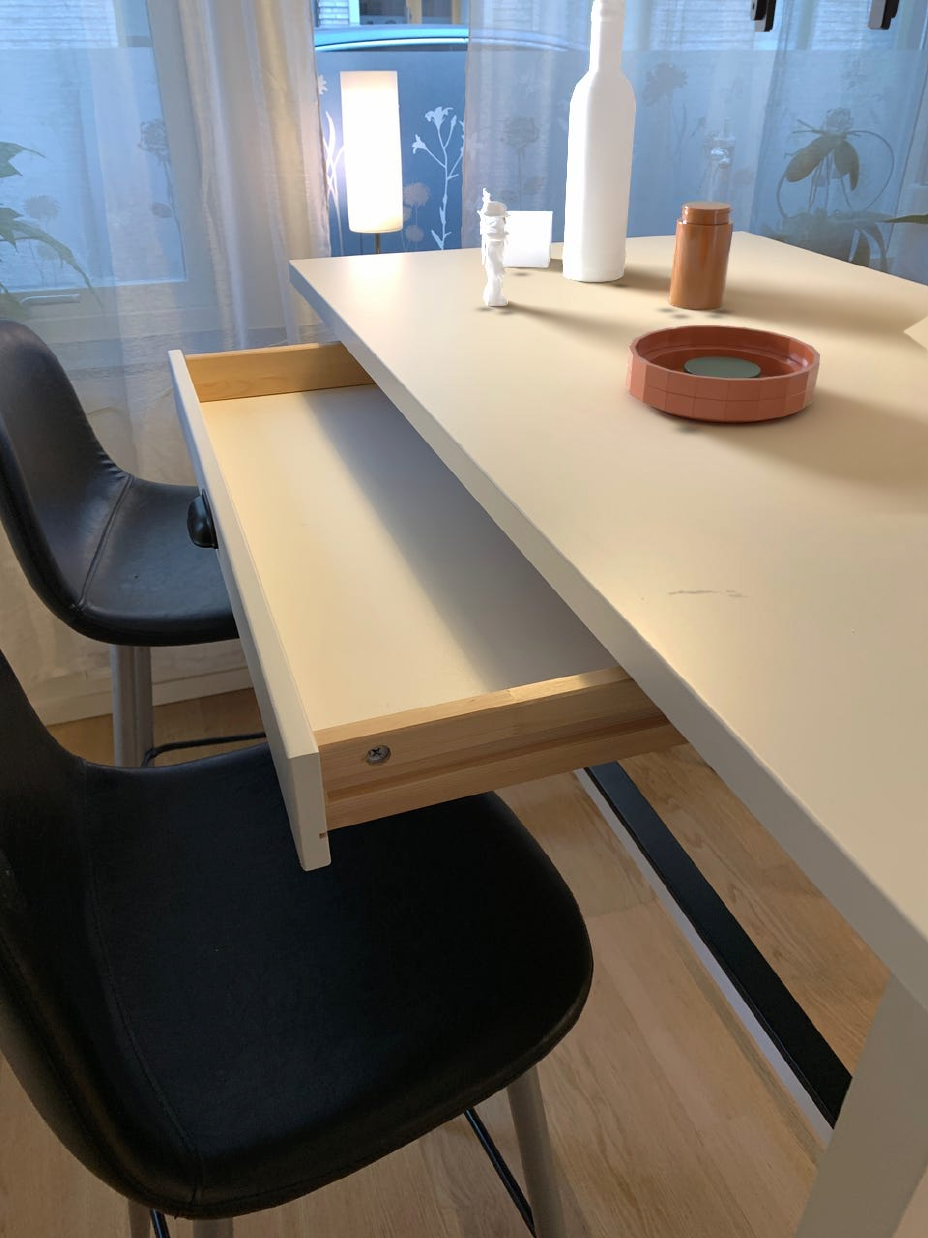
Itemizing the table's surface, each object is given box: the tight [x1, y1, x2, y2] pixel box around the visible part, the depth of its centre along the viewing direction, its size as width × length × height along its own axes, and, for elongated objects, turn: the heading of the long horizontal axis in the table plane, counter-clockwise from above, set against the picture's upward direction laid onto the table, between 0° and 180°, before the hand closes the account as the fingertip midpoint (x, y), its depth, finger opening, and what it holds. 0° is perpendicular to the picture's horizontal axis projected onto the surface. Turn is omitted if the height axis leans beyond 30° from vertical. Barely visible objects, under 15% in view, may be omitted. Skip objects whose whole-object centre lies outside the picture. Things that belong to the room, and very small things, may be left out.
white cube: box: [503, 210, 553, 269], centre depth 132 cm, size 6×6×6 cm
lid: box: [684, 356, 761, 379], centre depth 87 cm, size 7×6×2 cm
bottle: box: [562, 0, 637, 283], centre depth 118 cm, size 8×8×30 cm
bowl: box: [625, 324, 821, 424], centre depth 86 cm, size 16×16×4 cm
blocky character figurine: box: [477, 188, 512, 307], centre depth 112 cm, size 9×4×12 cm, turn 2°
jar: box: [668, 200, 735, 311], centre depth 112 cm, size 6×6×11 cm
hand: (820, 30), depth 82 cm, fingers open, 9 cm apart
